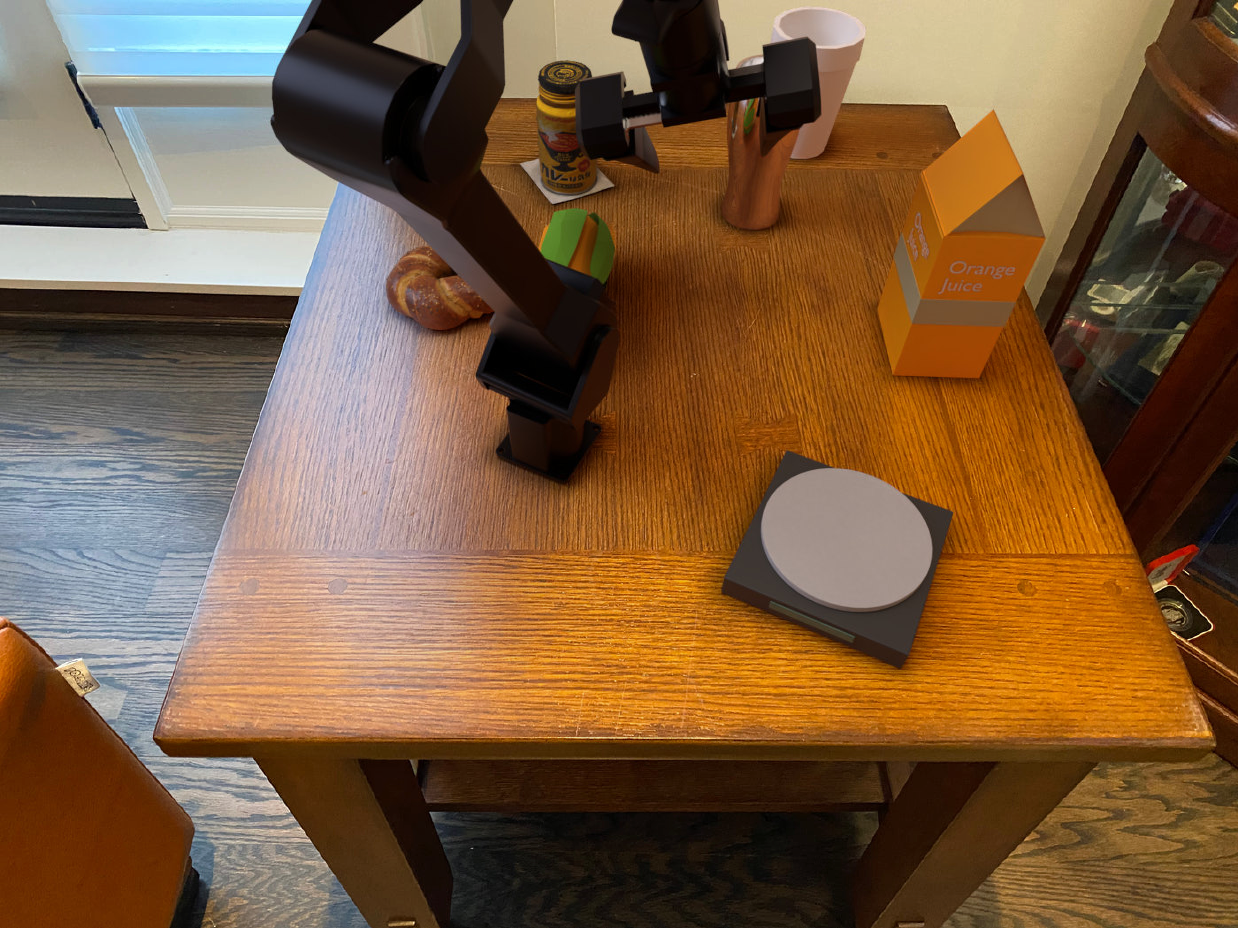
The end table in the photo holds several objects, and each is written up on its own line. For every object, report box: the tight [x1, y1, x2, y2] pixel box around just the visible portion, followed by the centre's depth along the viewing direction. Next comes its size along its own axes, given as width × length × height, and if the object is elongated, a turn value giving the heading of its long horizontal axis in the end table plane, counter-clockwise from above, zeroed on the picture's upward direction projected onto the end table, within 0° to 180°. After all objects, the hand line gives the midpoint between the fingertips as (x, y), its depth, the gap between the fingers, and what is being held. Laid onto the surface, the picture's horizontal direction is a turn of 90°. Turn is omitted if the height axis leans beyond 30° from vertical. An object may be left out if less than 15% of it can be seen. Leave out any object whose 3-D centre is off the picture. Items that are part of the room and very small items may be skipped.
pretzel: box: [385, 245, 494, 331], centre depth 80 cm, size 12×11×4 cm
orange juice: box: [876, 108, 1047, 379], centre depth 70 cm, size 8×9×20 cm
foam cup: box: [770, 6, 867, 160], centre depth 94 cm, size 10×9×13 cm
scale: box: [720, 450, 954, 669], centre depth 62 cm, size 13×13×3 cm
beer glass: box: [720, 54, 800, 231], centre depth 84 cm, size 7×7×15 cm
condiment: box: [519, 59, 615, 205], centre depth 89 cm, size 7×8×12 cm
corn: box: [538, 207, 616, 290], centre depth 77 cm, size 7×8×20 cm
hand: (709, 160), depth 75 cm, fingers open, 9 cm apart
